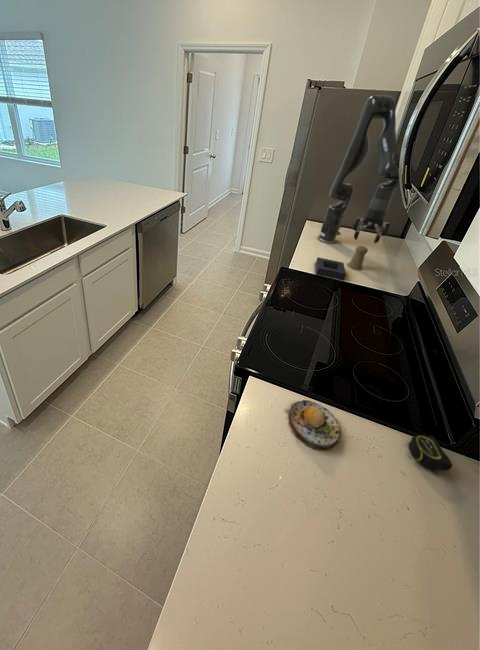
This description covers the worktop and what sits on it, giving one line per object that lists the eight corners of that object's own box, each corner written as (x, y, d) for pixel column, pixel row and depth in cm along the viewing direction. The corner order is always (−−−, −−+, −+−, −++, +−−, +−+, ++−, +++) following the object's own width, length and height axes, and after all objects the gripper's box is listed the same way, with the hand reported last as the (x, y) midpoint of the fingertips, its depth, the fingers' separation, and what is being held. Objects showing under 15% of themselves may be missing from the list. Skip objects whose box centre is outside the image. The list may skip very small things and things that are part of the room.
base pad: (315, 263, 152) (317, 257, 150) (341, 268, 149) (343, 262, 148) (316, 274, 142) (318, 267, 140) (343, 280, 139) (346, 273, 138)
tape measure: (448, 474, 67) (457, 465, 65) (417, 471, 67) (425, 462, 65) (428, 443, 73) (436, 434, 71) (400, 441, 73) (407, 431, 71)
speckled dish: (348, 448, 70) (360, 428, 66) (301, 453, 68) (310, 433, 64) (321, 402, 80) (330, 383, 77) (279, 406, 78) (286, 386, 74)
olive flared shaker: (358, 264, 155) (366, 245, 150) (363, 270, 150) (371, 250, 145) (346, 263, 156) (354, 243, 150) (350, 268, 150) (358, 248, 145)
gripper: (393, 208, 139) (379, 241, 147) (360, 203, 143) (348, 235, 150) (397, 213, 133) (383, 247, 141) (362, 207, 136) (350, 240, 144)
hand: (365, 240), depth 146 cm, fingers open, 8 cm apart
